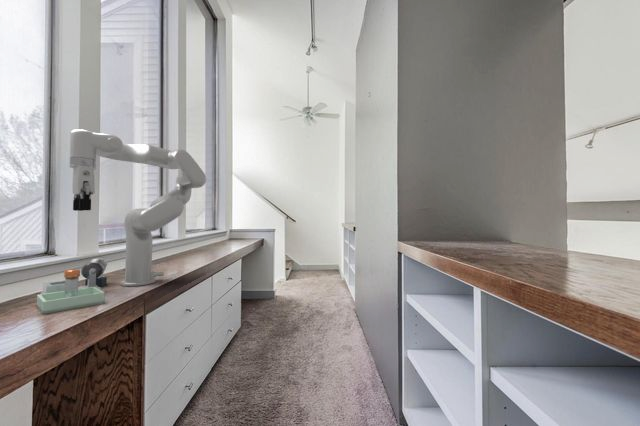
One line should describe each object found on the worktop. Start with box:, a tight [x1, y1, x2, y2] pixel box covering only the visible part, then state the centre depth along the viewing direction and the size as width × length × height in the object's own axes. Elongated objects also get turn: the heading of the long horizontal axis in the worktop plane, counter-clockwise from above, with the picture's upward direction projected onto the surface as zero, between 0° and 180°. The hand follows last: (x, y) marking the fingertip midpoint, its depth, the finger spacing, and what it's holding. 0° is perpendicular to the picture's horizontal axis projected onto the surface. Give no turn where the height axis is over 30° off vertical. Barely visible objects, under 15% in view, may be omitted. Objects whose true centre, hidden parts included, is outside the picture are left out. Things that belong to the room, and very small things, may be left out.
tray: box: [36, 287, 106, 315], centre depth 92 cm, size 15×12×4 cm
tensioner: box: [40, 262, 103, 294], centre depth 103 cm, size 16×9×11 cm, turn 141°
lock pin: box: [63, 268, 81, 298], centre depth 92 cm, size 4×4×10 cm
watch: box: [84, 258, 108, 288], centre depth 117 cm, size 6×8×11 cm
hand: (81, 210), depth 106 cm, fingers open, 9 cm apart
